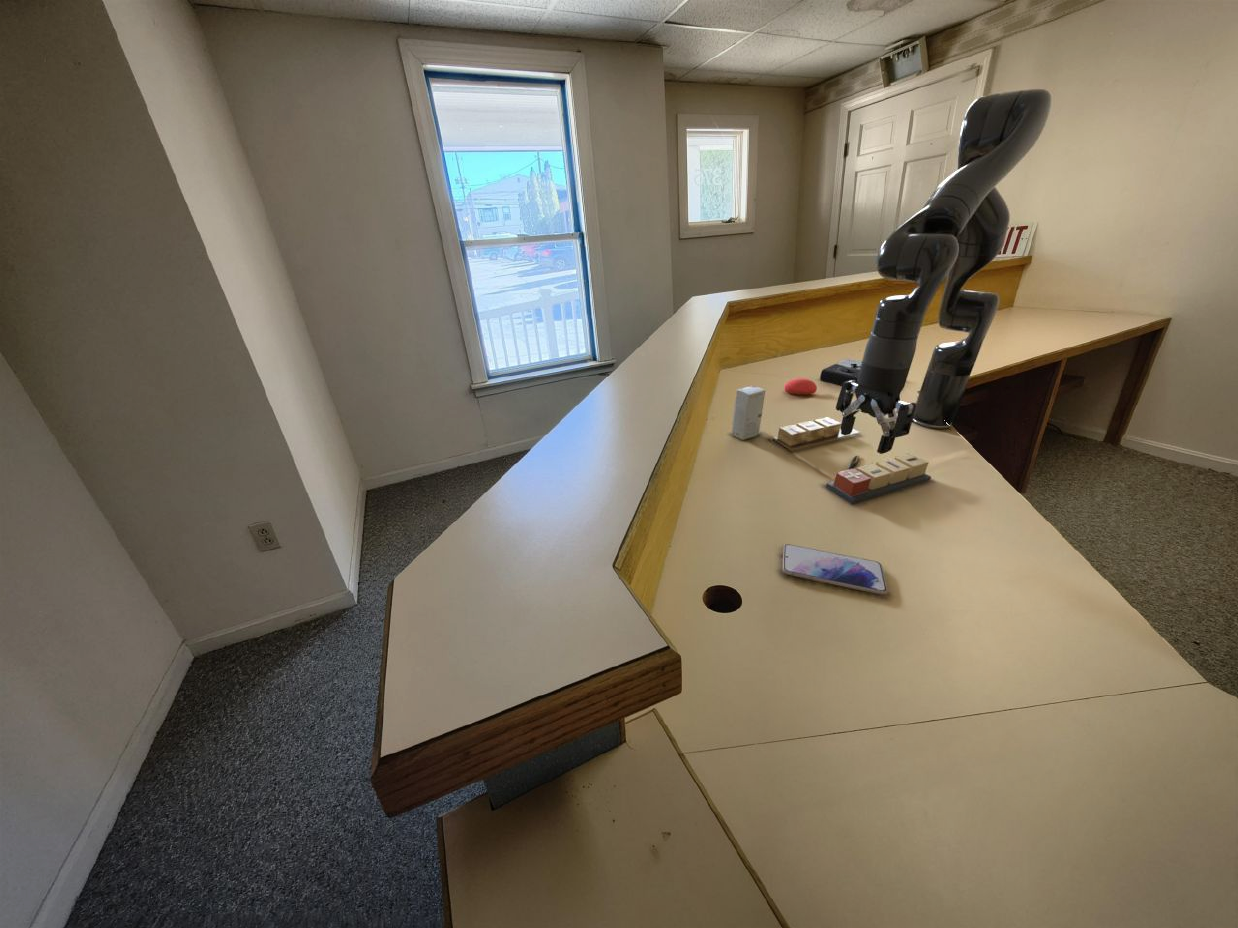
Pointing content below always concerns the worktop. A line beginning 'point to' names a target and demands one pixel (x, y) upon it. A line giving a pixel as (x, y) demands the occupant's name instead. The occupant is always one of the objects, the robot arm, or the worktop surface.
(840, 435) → the letter tile tray
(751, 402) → the cosmetic box
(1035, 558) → the worktop surface
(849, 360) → the multimeter
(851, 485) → the red plus-sign block
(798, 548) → the smartphone
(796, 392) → the stress ball
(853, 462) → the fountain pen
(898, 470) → the wooden block rack
